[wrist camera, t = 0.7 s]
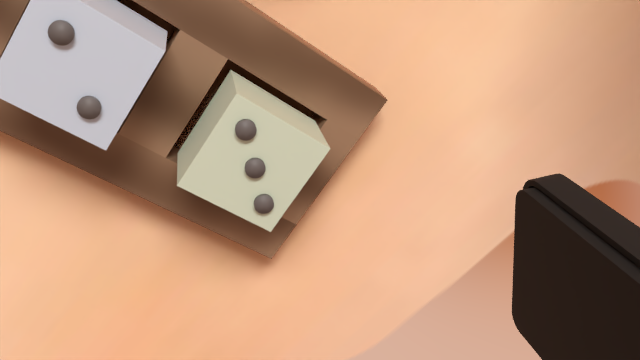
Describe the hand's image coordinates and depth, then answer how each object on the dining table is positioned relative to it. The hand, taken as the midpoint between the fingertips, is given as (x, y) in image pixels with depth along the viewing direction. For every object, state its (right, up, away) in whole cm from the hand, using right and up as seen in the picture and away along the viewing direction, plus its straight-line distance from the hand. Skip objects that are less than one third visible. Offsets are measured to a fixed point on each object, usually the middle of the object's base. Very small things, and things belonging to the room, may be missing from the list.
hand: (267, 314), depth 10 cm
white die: (-12, +9, +22) cm, 27 cm away
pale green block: (-4, +5, +26) cm, 27 cm away
